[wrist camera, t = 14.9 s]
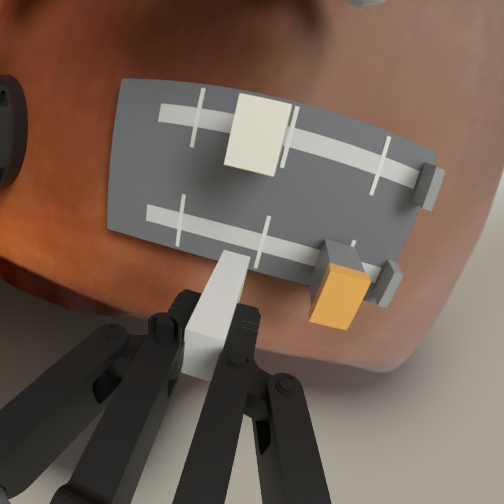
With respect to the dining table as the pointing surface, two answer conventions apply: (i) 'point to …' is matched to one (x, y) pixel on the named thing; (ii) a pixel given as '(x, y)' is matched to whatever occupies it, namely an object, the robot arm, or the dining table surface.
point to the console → (264, 184)
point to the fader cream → (257, 134)
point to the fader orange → (337, 285)
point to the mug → (365, 3)
